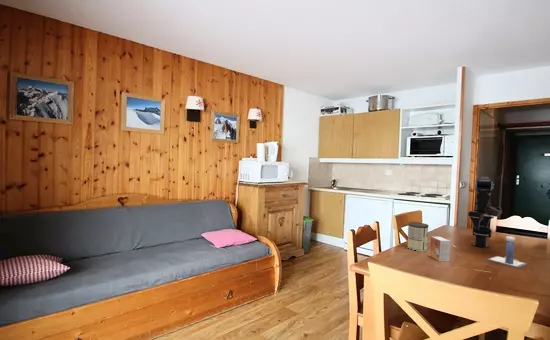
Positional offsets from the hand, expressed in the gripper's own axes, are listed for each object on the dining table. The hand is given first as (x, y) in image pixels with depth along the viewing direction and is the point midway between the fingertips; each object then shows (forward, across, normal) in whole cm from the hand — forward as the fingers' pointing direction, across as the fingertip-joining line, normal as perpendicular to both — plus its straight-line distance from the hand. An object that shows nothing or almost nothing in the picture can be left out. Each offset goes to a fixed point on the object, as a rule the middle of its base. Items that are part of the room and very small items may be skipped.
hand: (481, 229), depth 165 cm
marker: (+13, -9, -17) cm, 23 cm away
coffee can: (+14, -27, +20) cm, 36 cm away
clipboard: (+13, -6, -15) cm, 20 cm away
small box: (+14, -33, +4) cm, 36 cm away
